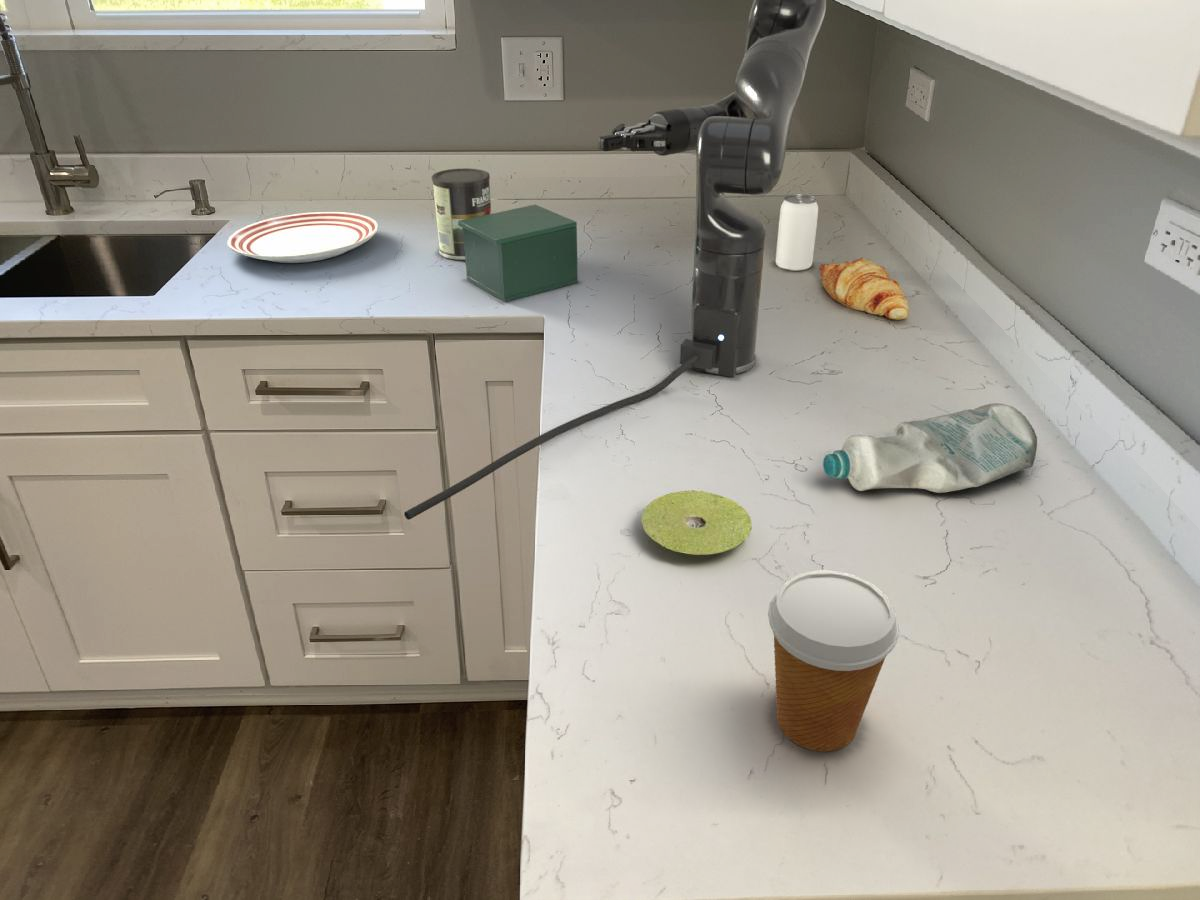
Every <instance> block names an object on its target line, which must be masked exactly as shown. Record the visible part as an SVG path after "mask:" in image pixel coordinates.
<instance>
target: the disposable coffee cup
mask: <svg viewBox="0 0 1200 900" xmlns="http://www.w3.org/2000/svg"><path fill="white" fill-rule="evenodd" d="M895 613H896V612H895V609H894V606H893V603H892V601H891V600H890V599H889V597H888V596H887V595H886V594H885V592H883V591H882V590H881V589H880V588H879V587H878V586H877V585H875V584H873V583H872V582H870V581H868V580H867V579H865V578H862V577H860V576H858V575H854V574H851V573H849V572H848V573H847V572H843V571H840V570H830V569H818V570H817V569H816V570H809V571H805V572H801V573H799V574H796V575H794V576H792V577H790V578H789V579H787V580H786V581H785V582H784V583H782V585H781V586H780V587H779V588H778V591H777V592H776V593H775V594H774V596H773V597H772V599H771V601H770V602H769V605H768V611H767V617H768V622H769V627H770V629H771V630H772V633H773V648H774V650H773V653H774V672H775V674H774V676H775V677H774V678H775V696H776V697H775V699H776V700H775V701H776V721H777V724H778V726H779V729H780V731H781V732H782V733H783V734H784V735H785V736H786V737H787V739H789V740H790V741H792V742H793V743H795V744H796V745H798V746H800V747H802V748H805V749H806V750H811V751H817V752H831V751H837V750H841V749H842V748H844V747H846V746H848V745H850V743H851V742H852V741H853V740H854V738H855V736H856V734H857V731H858V728H859V726H860V723H861V720H862V718H863V715H864V713H865V710H866V708H867V706H868V703H869V701H870V698H871V695H872V692H873V690H874V688H875V685H876V683H877V681H878V677H879V674H880V672H881V670H882V668H883V666H884V665H883V664H884V663H885V662H884V661H885V659H886V658H887V656H888V655H889V654H890V653H891V652H892V651H893V649H894V648H895V647H896V644H897V643H898V640H899V637H900V624H899V621H898V619H897V616H896V614H895Z"/></svg>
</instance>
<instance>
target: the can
mask: <svg viewBox="0 0 1200 900" xmlns="http://www.w3.org/2000/svg"><path fill="white" fill-rule="evenodd" d="M817 201H818V198H817V197H816V196H814V195H811V194H810V195H809V194H805V193H793V194H788V195H787V194H786V195H785V196H784V197H783V202H782V204H781V206H780V210H779V218H778V219H779V220H778V229H777V241H776V250H775V251H776V253H775V265H776V266H777V268H779V269H781V270H784V271H789V272H802V271H806V270H807V271H808V270H809V269H810V268H811V267H812V265H813V262H814V261H813V260H814V253H815V245H816V244H815V243H816V236H817V228H818V216H819V205H818V203H817Z"/></svg>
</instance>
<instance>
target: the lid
mask: <svg viewBox="0 0 1200 900" xmlns="http://www.w3.org/2000/svg"><path fill="white" fill-rule="evenodd" d="M577 223H578V222H577V221H576V220H573V219H571V218H569V217H566V216H564V215H561V214H558V213H557V212H555V211H552V210H549V209H547V208H545V207H542V206H540V205H538V204H532V205H527V206H522V207H517V208H511V209H507V210H503V211H498V212H493V213H491V214H488V215H483V216H479V217H474V218H469V219H464V220H460V221H458V225H459V226H461V227H463V228H465V229H467V230H469V231H471V232H473V233H475V234H476V235H478V236H480V237H482V238H484V239H486V240H488V241H490V242H492V243H494V244H496V245H498V244H503V243H507V242H511V241H516V240H520V239H524V238H529V237H533V236H537V235H542V234H546V233H550V232H555V231H559V230H563V229H568V228H572V227H577V225H578V224H577Z"/></svg>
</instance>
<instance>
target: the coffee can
mask: <svg viewBox="0 0 1200 900" xmlns="http://www.w3.org/2000/svg"><path fill="white" fill-rule="evenodd" d="M490 178H491V177H490V173H489V172H488V171H486V170H484V169H479V168H478V169H477V168H470V167H469V168H467V167H466V168H451V169H444V170H440V171H438V172H437V171H436V172H435V173H433V174H432V175H431V181H432V186H433V198H434V199H433V200H434V207H435V216H436V219H435V220H436V227H437V237H438V248H439V251H438V252H439V255H440V256H441V257H443V258H446V259H449V260H458V261H466V260H465V249H464V237H463V227H461V226H459V225H458V221H460V220H464V219H469V218H474V217H479V216H483V215H488V214H492V203H491V202H492V201H491V186H490Z"/></svg>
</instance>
